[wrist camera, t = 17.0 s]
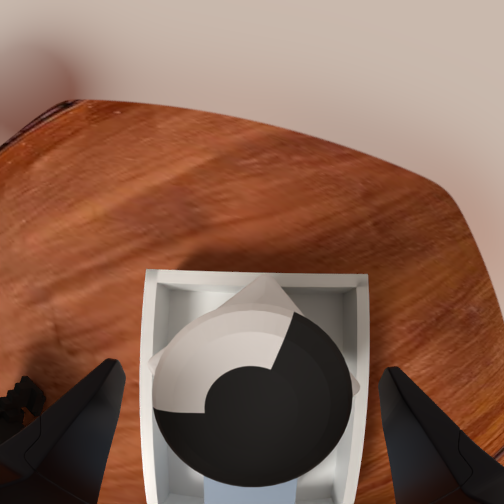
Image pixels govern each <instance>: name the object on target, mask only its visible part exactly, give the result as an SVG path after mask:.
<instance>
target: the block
mask: <svg viewBox="0 0 504 504" xmlns="http://www.w3.org/2000/svg"><path fill="white" fill-rule="evenodd" d="M297 479H298V478H296V479H293V480H290V481H288V482H285V483H281V484H277V485H273V486H266V487H239V486H232V485H228V484H224V483H220V482H217V481H215V480H212V479H210V478H207V477H205V476H204V504H295V498H296V489H297Z"/></svg>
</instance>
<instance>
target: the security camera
mask: <svg viewBox="0 0 504 504" xmlns="http://www.w3.org/2000/svg"><path fill="white" fill-rule="evenodd" d="M45 400H46V397H45V396H44V395H43V392H42V391H41V390H40V389H39V388H38V387H37V386H36V385H35V384H34V383H33V382H32V381H31V380H30V378H29V377H28V376H22V378H21V381H20V383H16V384H15V387H14V390H8V392H7V396H6V397H0V445H1V444H3V443H4V442H6V441H7V440H9V439H10V438H12V437H13V436H14V435H16V434H17V433H19V432H20V431H21V430H23V429H24V428H25V426H24V425H23V424H22V421H23V417H24V414H25V412H24V411H23V410H22V409H21V408H22V407H26V408H27V409H28V410H29V411H30V412H31V413H32V414H33V415H34V416H35V417H37V416H40V415H41V412H42V409H43V405H44V402H45Z"/></svg>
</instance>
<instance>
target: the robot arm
mask: <svg viewBox="0 0 504 504" xmlns="http://www.w3.org/2000/svg"><path fill="white" fill-rule="evenodd" d="M125 381H126V376H125V373H124V370H123V368H122V366H121V364H120V362H119V361H118V360H117V359H111V358H108V359H106V360H104V361H103V362H102V363H101V364H100V365H99V366H97V367H96V368H95V369H94V370H93V371H91V372H90V373H89V374H88V375H87V376H86V377H84V378H83V379H82V380H81V381H80V382H78V383H77V384H76V385H75V386H74V387H73V388H71V389H70V390H69V391H68V392H67V393H66V394H64V395H63V396H62V397H61V398H60V399H59V400H57V401H56V402H55V403H54V404H53V405H51V406H50V407H49V408H48V409H47V410H46V411H45V412H43V413H42V414H41V416H39V417H37V418H36V419H35V420H34V421H33V422H32V423H30V424H29V425H28V426H27V427H25V428H24V429H23V430H21V431H20V432H19V433H17V434H16V435H14V436H13V437H12V438H10V439H9V440H7V441H6V442H4V443H3V444H1V445H0V504H97V502H98V497H99V492H100V488H101V483H102V479H103V475H104V471H105V467H106V463H107V459H108V455H109V451H110V447H111V443H112V440H113V436H114V432H115V429H116V425H117V422H118V418H119V413H120V408H121V402H122V397H123V391H124V386H125ZM378 389H379V397H380V407H381V417H382V425H383V431H384V436H385V441H386V446H387V451H388V456H389V462H390V467H391V473H392V479H393V486H394V493H395V500H396V504H504V467H503V466H502V465H501V464H500V463H498V462H497V461H496V460H495V459H493V458H492V457H491V456H490V455H488V454H487V453H486V452H485V451H484V450H482V449H481V448H480V447H479V446H478V445H477V444H475V443H474V442H473V441H472V440H471V439H470V438H469V437H468V436H467V435H466V434H465V433H464V432H463V431H462V430H460V428H459V427H458V426H457V425H456V424H455V423H454V422H453V421H452V420H451V419H450V418H449V417H448V416H447V415H446V414H445V413H444V412H443V411H442V410H441V409H440V408H439V407H438V406H437V405H436V404H435V403H434V402H433V401H432V400H431V399H430V398H429V397H428V396H427V395H426V394H425V393H424V392H423V391H422V390H421V389H420V388H419V387H418V386H417V385H416V384H415V383H414V382H413V381H412V380H411V379H410V378H409V377H408V376H407V375H406V374H405V373H404V372H403V371H402V370H401V369H400V368H399V367H397V366H394V367H387V368H386V369H385V371H384V373H383V375H382V377H381V379H380V381H379V384H378Z"/></svg>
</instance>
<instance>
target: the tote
mask: <svg viewBox="0 0 504 504" xmlns="http://www.w3.org/2000/svg"><path fill="white" fill-rule="evenodd" d="M262 274H269V275H271V276H272V277H273V278H274V279H275V280H276V282H277V283H278V284H279V285H280V287H281V288H282V289H283V290H284V291H285V293H286V294H287V295H288V296H289V298H290V299H291V300H292V301H293V302H294V304H295V305H296V306H297V307H298V309H299V310H300V311H301V312H302V314H303V315H304V316H305V317H306V318H308V319H309V320H311V321H312V322H314V323H315V324H316V325H318V326H319V327H320V328H321V329H322V330H323V331H324V332H326V333H327V334H328V335H329V336H330V338H331V339H332V340H333V341H334V343H335V344H336V345H337V347H338V348H339V350H340V352H341V353H342V355H343V357H344V359H345V361H346V364H347V366H348V369H349V371H350V372H351V373H352V375H353V376H354V377H355V378H356V380H357V381H358V382H359V384H360V390H359V392H358V393H357V394H356V395H355V396H354V397H353V398H352V409H351V414H350V418H349V421H348V424H347V427H346V429H345V432H344V434H343V435H342V437H341V439H340V441H339V442H338V444H337V445H336V447H335V448H334V449H333V451H332V452H331V453H330V454H329V455H328V456H327V457H326V458H325V459H324V460H323V461H322V462H321V463H320V464H319V465H317V466H316V467H315V468H313V469H312V470H310V471H309V472H307V473H305V474H304V475H302V476H300V477H298V479H297V489H296V498H295V504H354V500H355V495H356V490H357V484H358V478H359V472H360V466H361V459H362V451H363V443H364V434H365V425H366V413H367V400H368V384H369V355H370V314H369V285H368V274H303V273H251V272H214V271H184V270H157V269H146V276H145V286H144V298H143V310H142V326H141V346H140V428H141V447H142V461H143V472H144V482H145V491H146V500H147V504H204V476H203V475H202V474H200V473H198V472H196V471H195V470H193V469H192V468H191V467H189V466H188V465H187V464H185V463H184V462H183V461H182V460H181V459H180V458H179V457H178V456H177V455H176V454H175V453H174V452H173V451H172V449H171V448H170V447H169V445H168V444H167V443H166V441H165V439H164V437H163V436H162V434H161V432H160V430H159V427H158V425H157V422H156V419H155V415H154V410H153V403H152V386H153V379H154V376H153V374H152V373H151V371H150V370H149V368H148V366H147V363H148V360H149V359H150V358H151V357H152V356H154V355H155V354H156V353H158V352H159V351H161V350H162V349H163V348H165V347H166V346H167V345H168V344H169V343H170V342H171V340H172V339H173V338H174V337H175V335H176V334H177V333H179V332H180V331H181V330H182V329H183V328H184V327H185V326H186V325H188V324H189V323H191V322H192V321H193V320H195V319H196V318H198V317H200V316H202V315H204V314H206V313H208V312H210V311H213V310H216V309H217V308H218V307H220V306H221V305H222V304H224V303H225V302H226V301H228V300H229V299H230V298H232V297H233V296H234V295H235V294H237V293H238V292H239V291H241V290H242V289H243V288H245V287H246V286H247V285H249V284H250V283H251V282H252V281H254V280H255V279H256V278H258V277H259V276H260V275H262Z"/></svg>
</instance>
